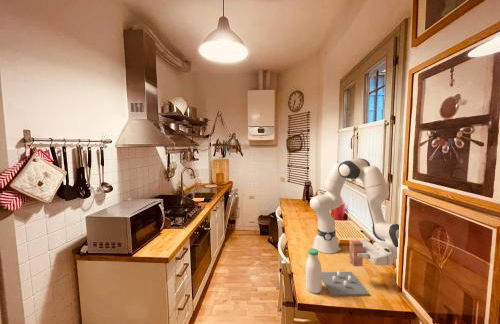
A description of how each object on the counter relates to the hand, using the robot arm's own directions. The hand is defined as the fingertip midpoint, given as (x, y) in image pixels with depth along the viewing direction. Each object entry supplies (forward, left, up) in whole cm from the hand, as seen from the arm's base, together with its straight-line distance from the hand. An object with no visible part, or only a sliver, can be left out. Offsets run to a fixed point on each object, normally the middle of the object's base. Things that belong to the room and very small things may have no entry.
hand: (354, 251), depth 109 cm
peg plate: (+2, -7, -17) cm, 18 cm away
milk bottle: (+8, -22, -17) cm, 29 cm away
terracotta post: (0, +1, -7) cm, 7 cm away
